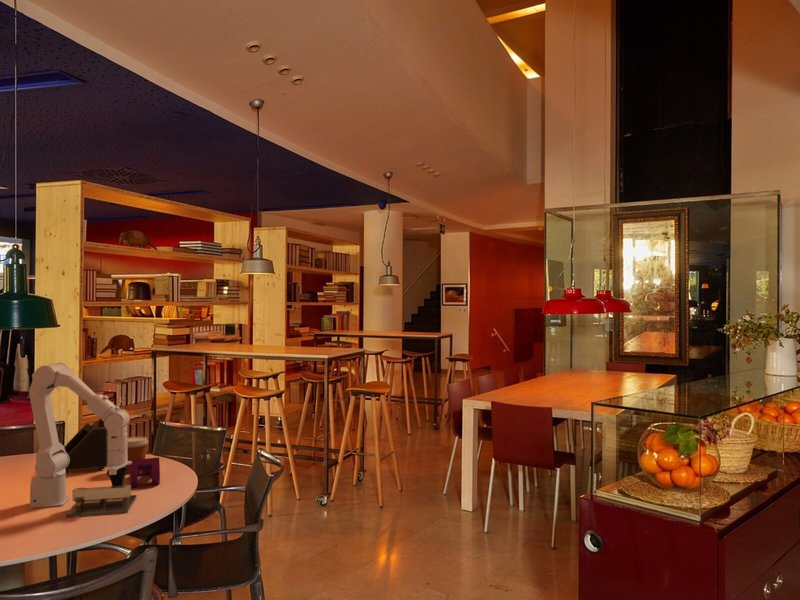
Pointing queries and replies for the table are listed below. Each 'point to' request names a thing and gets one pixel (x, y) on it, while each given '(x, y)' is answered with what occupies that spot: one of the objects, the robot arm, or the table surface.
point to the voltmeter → (88, 447)
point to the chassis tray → (101, 506)
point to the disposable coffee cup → (136, 449)
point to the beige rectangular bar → (101, 492)
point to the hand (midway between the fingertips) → (117, 491)
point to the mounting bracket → (145, 470)
